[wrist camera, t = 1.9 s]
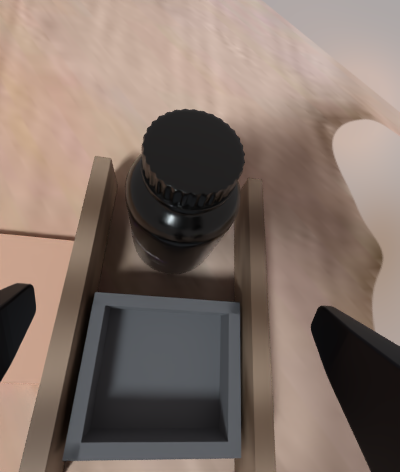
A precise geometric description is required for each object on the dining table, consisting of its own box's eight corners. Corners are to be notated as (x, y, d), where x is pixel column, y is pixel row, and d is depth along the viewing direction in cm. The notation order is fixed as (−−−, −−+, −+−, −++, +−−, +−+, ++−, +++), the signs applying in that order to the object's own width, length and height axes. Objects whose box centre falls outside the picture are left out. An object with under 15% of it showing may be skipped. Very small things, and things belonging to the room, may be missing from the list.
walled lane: (251, 475, 18) (277, 512, 14) (40, 480, 16) (5, 524, 12) (246, 202, 25) (262, 179, 22) (104, 184, 23) (94, 155, 20)
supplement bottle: (122, 265, 21) (89, 188, 10) (146, 195, 24) (141, 73, 13) (203, 285, 22) (256, 233, 11) (218, 214, 24) (272, 114, 13)
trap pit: (227, 439, 18) (241, 458, 15) (77, 440, 17) (62, 460, 14) (228, 306, 21) (239, 302, 19) (102, 298, 20) (95, 292, 17)
